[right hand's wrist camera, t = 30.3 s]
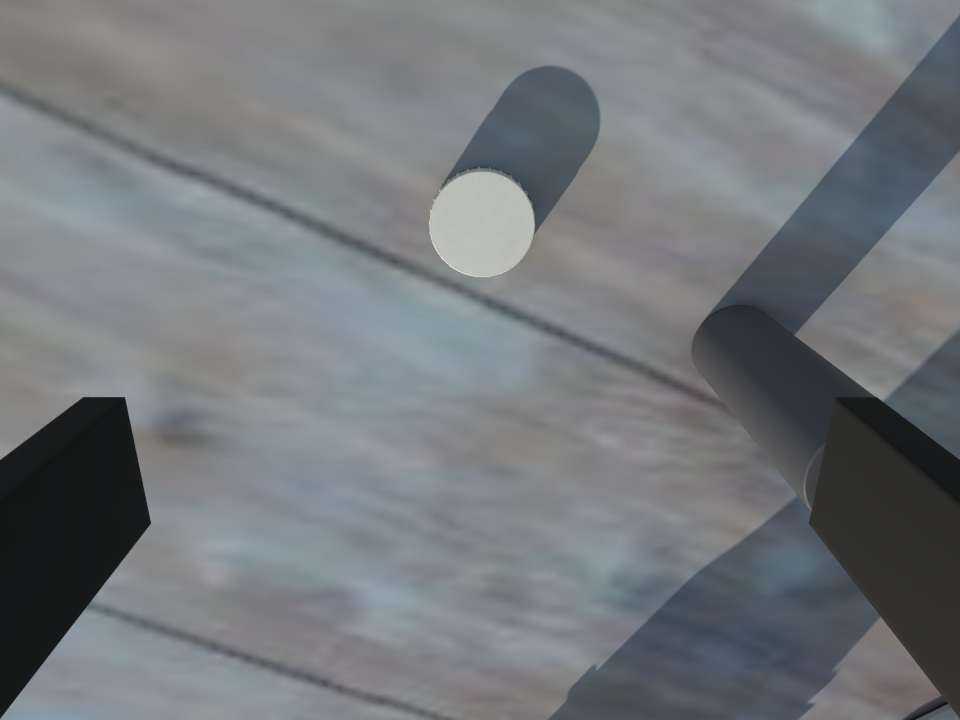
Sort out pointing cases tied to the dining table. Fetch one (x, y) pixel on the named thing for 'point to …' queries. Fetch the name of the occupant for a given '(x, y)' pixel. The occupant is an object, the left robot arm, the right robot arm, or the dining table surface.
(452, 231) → the lid
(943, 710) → the wall clock
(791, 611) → the dining table surface
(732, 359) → the jar
